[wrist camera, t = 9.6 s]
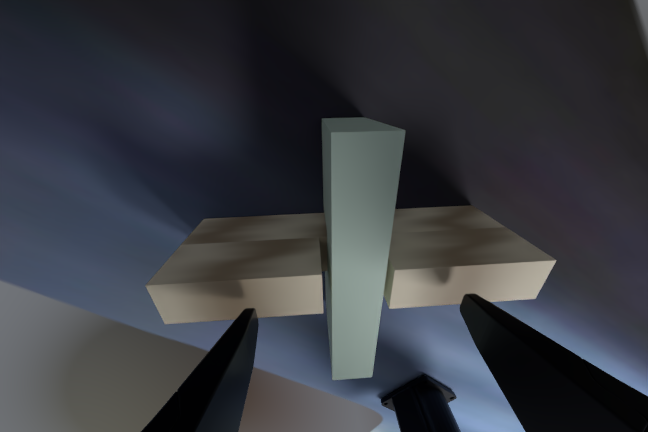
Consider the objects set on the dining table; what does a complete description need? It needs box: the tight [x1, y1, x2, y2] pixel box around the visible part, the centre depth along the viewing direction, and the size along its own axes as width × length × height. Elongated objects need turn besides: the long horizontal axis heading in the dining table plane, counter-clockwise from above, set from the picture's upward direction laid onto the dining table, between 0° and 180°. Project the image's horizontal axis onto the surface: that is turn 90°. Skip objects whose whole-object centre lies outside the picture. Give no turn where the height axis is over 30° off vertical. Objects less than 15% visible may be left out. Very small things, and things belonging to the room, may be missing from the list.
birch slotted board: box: [145, 205, 556, 324], centre depth 13 cm, size 18×2×6 cm, turn 91°
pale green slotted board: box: [322, 117, 406, 380], centre depth 13 cm, size 14×2×6 cm, turn 1°
